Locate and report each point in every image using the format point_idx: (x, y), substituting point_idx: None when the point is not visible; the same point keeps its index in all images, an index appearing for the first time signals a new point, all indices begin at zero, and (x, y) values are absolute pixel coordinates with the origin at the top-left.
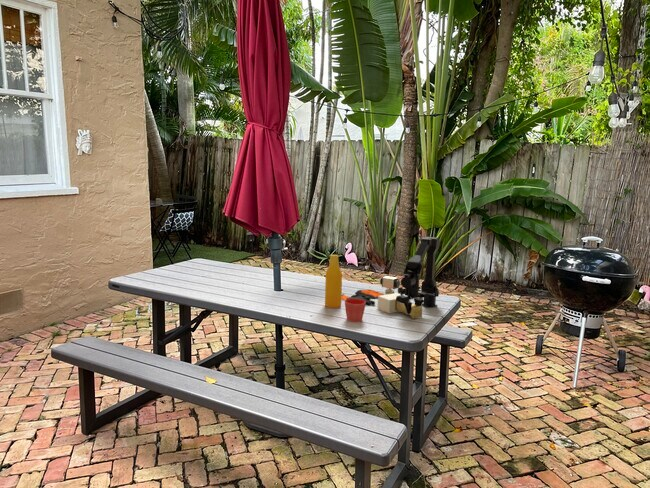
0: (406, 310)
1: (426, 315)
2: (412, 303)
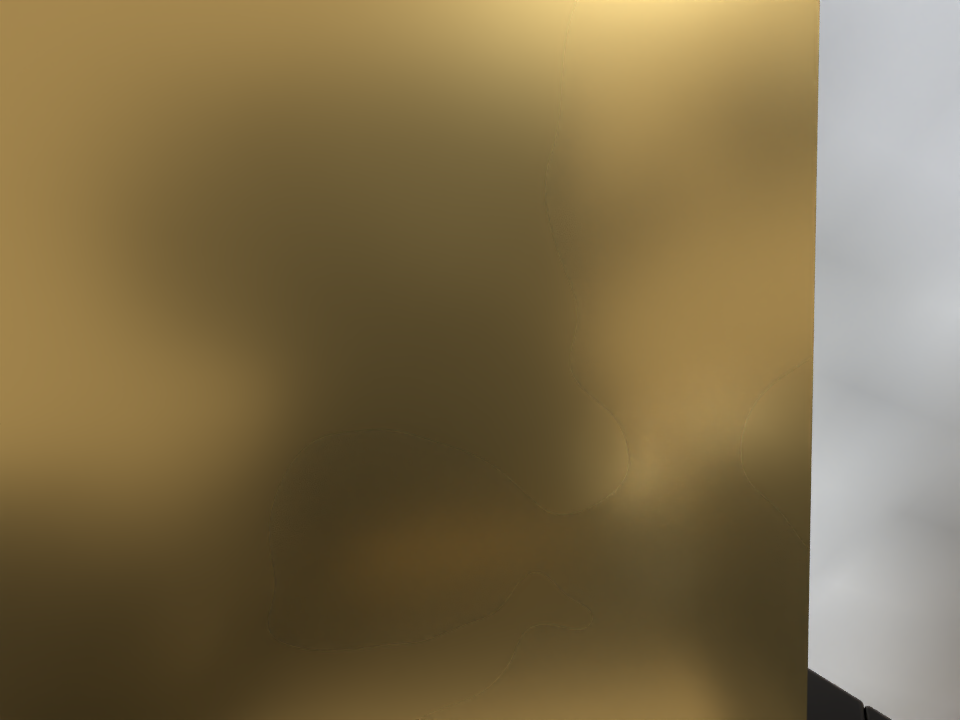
0: None
1: (876, 610)
2: (806, 698)
